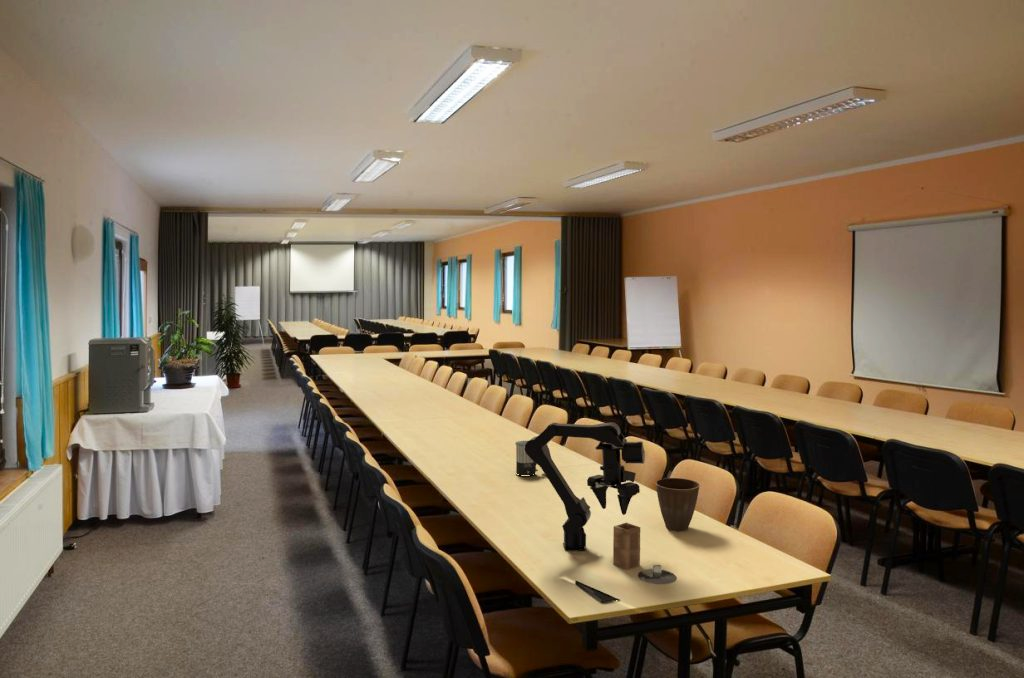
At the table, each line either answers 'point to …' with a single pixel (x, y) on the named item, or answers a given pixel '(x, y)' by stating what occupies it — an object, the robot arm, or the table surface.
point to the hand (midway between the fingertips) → (614, 511)
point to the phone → (596, 593)
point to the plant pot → (677, 501)
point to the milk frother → (524, 460)
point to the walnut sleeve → (626, 546)
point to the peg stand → (657, 575)
